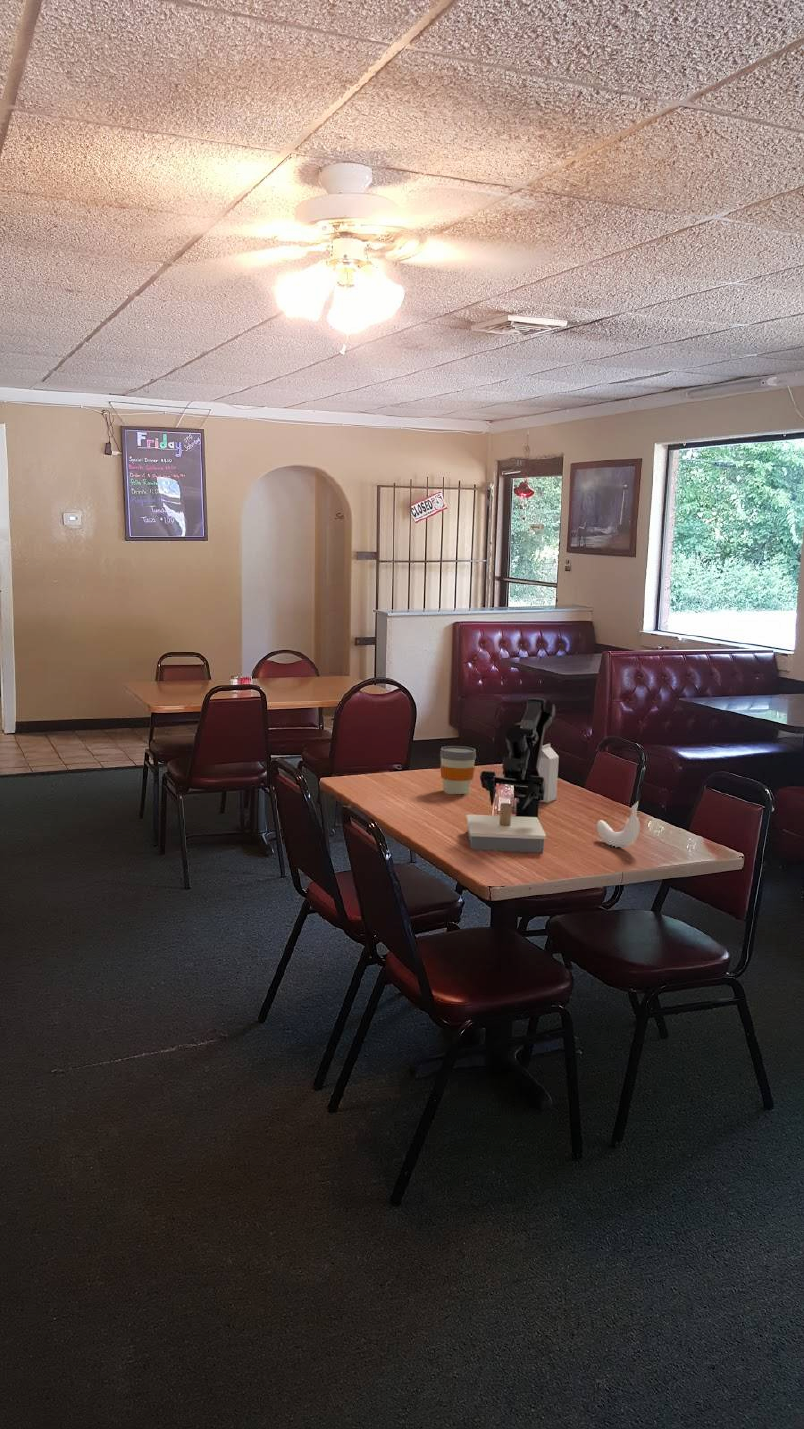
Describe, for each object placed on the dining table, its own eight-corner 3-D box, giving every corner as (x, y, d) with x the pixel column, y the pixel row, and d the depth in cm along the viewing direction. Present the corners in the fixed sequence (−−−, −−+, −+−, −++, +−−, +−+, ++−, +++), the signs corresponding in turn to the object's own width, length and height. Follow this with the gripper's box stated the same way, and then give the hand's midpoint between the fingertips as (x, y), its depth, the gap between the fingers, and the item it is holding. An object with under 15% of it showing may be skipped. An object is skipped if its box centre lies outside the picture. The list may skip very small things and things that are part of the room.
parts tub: (534, 833, 318) (535, 820, 317) (543, 852, 298) (543, 838, 298) (467, 831, 318) (468, 818, 317) (471, 849, 298) (472, 835, 298)
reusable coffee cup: (440, 786, 377) (442, 745, 375) (475, 789, 376) (477, 747, 374) (436, 794, 365) (438, 751, 363) (473, 797, 364) (475, 753, 361)
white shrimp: (601, 837, 318) (604, 788, 315) (643, 854, 301) (647, 803, 299) (587, 838, 315) (591, 790, 313) (629, 855, 299) (633, 804, 297)
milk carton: (556, 799, 365) (559, 744, 362) (547, 803, 359) (551, 747, 356) (537, 796, 368) (540, 742, 366) (528, 799, 362) (531, 744, 360)
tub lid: (536, 824, 318) (538, 797, 317) (545, 843, 297) (547, 814, 296) (466, 821, 318) (467, 794, 317) (470, 840, 297) (471, 811, 296)
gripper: (483, 743, 313) (471, 787, 305) (546, 749, 308) (536, 794, 299) (488, 765, 322) (477, 808, 313) (549, 771, 316) (540, 815, 308)
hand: (507, 806), depth 308 cm, fingers open, 9 cm apart
